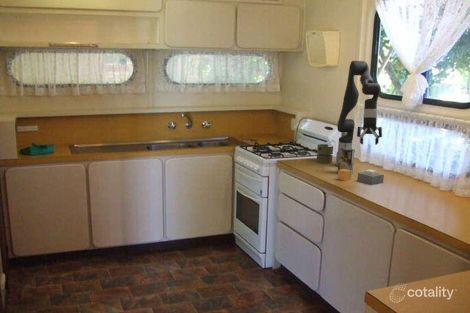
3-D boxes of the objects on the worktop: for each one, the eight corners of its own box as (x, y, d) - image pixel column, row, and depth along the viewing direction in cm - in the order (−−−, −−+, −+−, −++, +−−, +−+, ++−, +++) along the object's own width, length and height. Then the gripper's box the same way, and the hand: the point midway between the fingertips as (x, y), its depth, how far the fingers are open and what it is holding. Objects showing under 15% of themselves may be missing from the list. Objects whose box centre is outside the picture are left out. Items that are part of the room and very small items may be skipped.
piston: (326, 143, 359) (336, 146, 349) (325, 159, 361) (335, 162, 352) (314, 144, 353) (324, 147, 344) (313, 160, 356) (323, 163, 346)
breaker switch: (365, 175, 298) (365, 170, 297) (370, 174, 301) (370, 169, 300) (371, 176, 295) (371, 171, 294) (375, 175, 297) (376, 170, 297)
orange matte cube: (337, 179, 302) (338, 169, 301) (343, 178, 306) (344, 168, 304) (344, 181, 298) (345, 171, 297) (350, 180, 301) (351, 170, 300)
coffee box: (353, 173, 319) (355, 149, 316) (350, 175, 314) (352, 150, 311) (339, 171, 323) (341, 147, 320) (337, 173, 318) (338, 149, 315)
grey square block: (357, 180, 299) (358, 172, 298) (368, 178, 306) (369, 170, 305) (371, 184, 291) (372, 175, 290) (383, 182, 297) (384, 173, 296)
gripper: (384, 117, 285) (382, 144, 286) (360, 117, 293) (359, 144, 294) (380, 116, 279) (379, 144, 280) (356, 116, 287) (355, 144, 288)
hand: (369, 144), depth 287 cm, fingers open, 8 cm apart
